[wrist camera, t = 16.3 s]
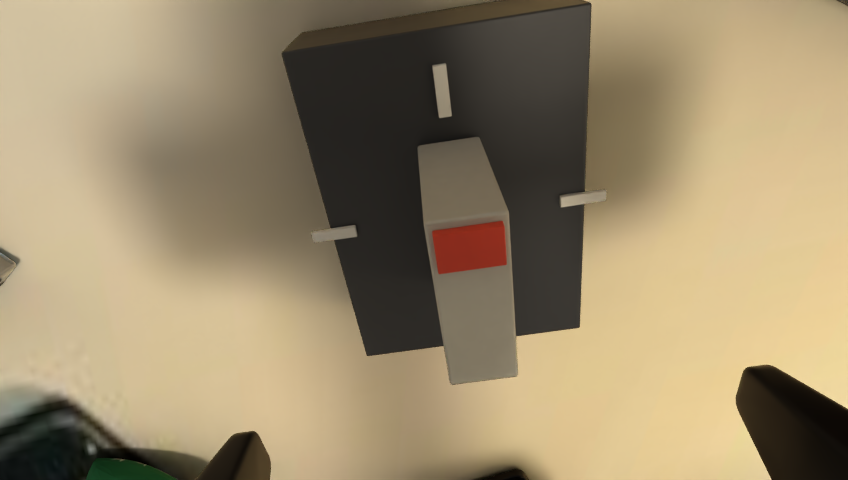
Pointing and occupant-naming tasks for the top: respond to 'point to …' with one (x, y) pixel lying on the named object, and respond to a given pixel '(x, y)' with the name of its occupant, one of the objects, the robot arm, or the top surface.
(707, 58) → the top surface
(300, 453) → the top surface
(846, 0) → the dark grey divided tray
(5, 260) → the label tape box
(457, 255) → the grey long block
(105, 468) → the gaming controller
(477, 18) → the dial panel
